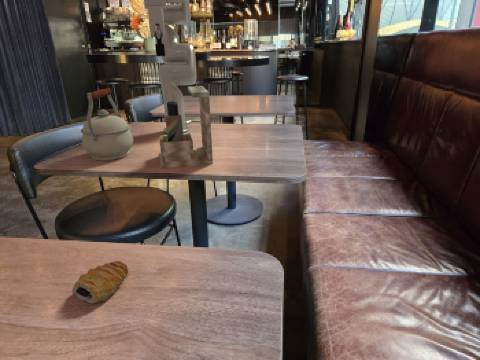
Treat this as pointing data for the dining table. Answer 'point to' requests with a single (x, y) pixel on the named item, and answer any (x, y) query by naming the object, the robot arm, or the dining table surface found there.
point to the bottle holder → (190, 139)
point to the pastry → (100, 282)
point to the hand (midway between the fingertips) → (160, 55)
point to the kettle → (105, 131)
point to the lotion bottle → (173, 123)
